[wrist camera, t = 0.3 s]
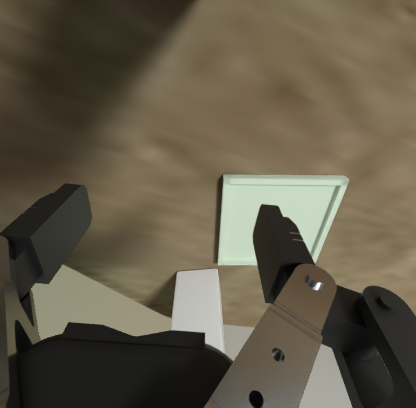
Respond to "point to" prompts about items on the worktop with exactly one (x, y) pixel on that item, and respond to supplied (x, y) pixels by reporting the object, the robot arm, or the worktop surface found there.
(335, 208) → the tray
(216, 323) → the milk carton
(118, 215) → the worktop surface
